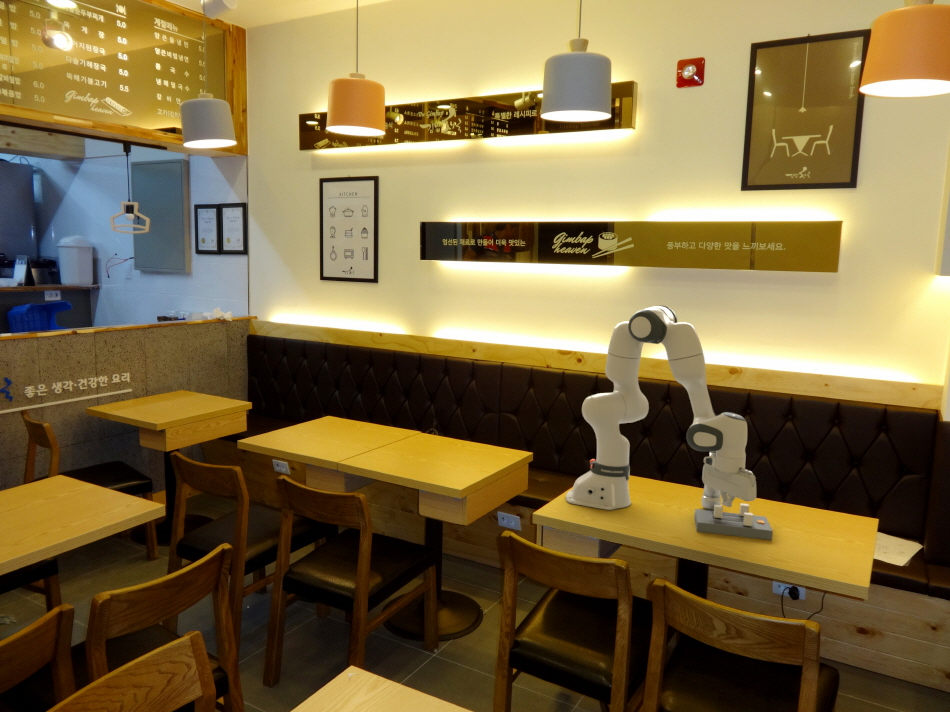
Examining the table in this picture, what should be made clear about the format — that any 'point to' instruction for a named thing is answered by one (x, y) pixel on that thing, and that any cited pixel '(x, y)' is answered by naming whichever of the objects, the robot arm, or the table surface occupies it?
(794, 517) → the table surface
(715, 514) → the block
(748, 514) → the block
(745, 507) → the block
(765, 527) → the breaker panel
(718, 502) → the plastic bottle
